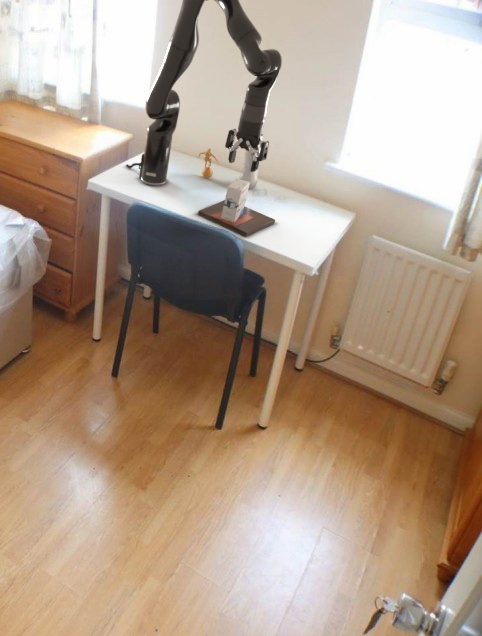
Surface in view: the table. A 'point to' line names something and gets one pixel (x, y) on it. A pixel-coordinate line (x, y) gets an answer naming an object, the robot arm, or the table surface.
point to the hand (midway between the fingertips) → (242, 166)
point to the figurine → (206, 171)
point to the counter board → (244, 224)
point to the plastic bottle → (249, 169)
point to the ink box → (235, 200)
